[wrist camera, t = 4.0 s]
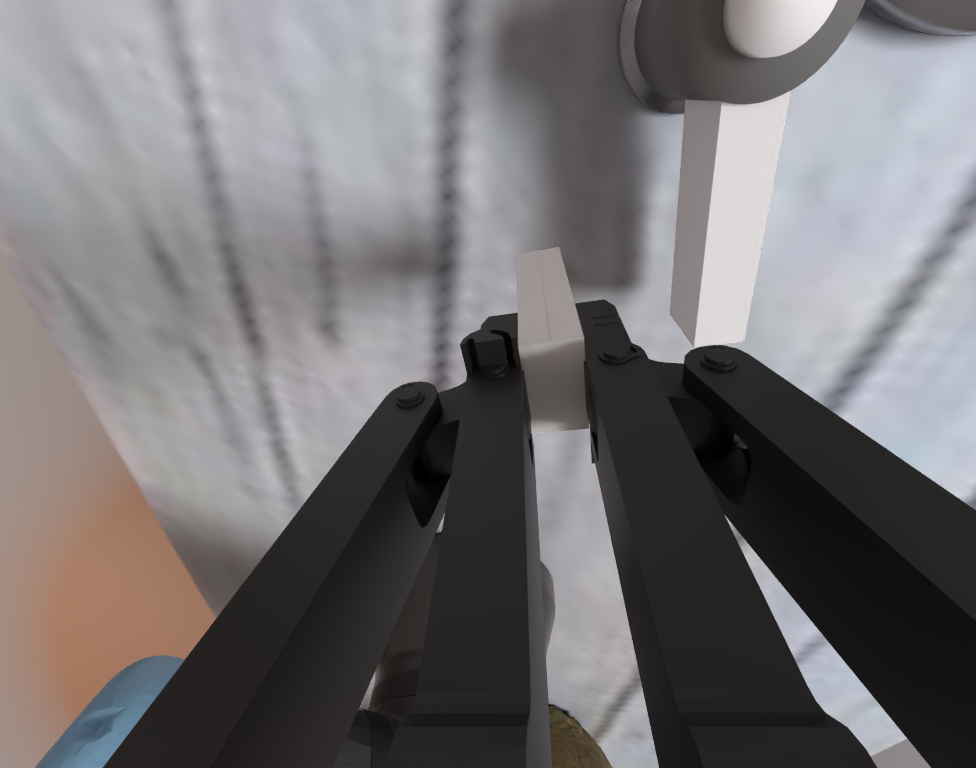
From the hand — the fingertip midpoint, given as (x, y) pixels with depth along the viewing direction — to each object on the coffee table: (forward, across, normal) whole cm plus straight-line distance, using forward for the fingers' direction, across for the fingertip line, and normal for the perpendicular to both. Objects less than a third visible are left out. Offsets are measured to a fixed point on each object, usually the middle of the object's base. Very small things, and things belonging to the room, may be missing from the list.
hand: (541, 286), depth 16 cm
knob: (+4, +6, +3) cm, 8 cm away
